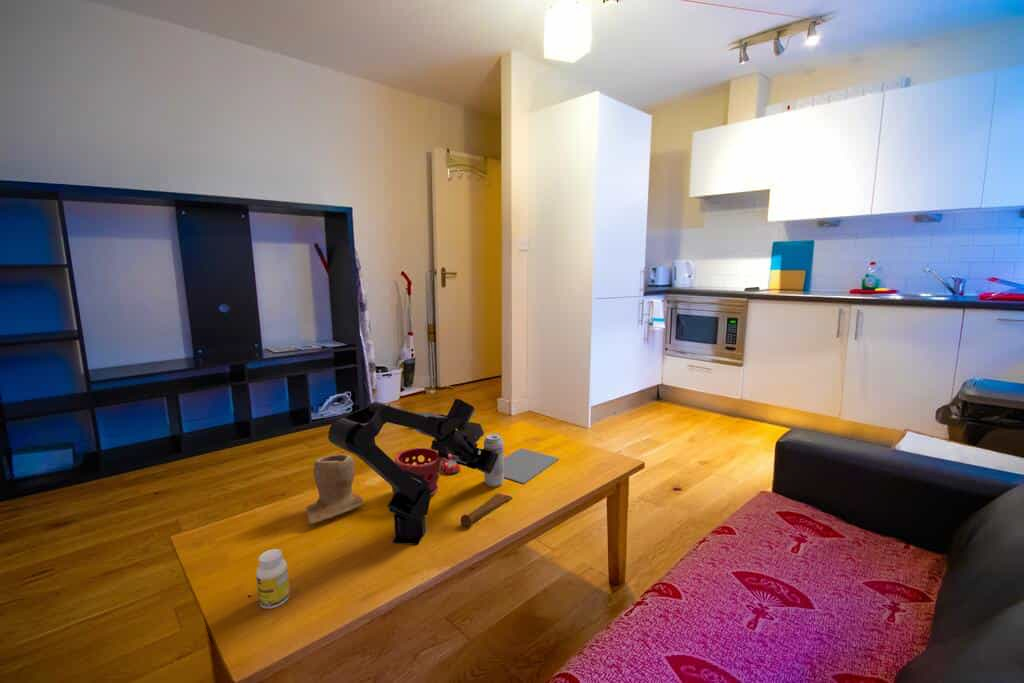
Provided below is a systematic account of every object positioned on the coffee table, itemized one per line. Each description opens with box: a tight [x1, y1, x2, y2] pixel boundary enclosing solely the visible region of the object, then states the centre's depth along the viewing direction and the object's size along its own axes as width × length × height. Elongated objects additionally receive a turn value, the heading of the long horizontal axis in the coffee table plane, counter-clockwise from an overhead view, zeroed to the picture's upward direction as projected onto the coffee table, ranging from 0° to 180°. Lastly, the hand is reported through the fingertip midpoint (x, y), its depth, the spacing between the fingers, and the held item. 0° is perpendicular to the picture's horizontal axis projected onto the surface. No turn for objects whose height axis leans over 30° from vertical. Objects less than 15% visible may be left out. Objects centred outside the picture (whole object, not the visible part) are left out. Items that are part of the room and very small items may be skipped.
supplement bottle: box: [255, 548, 291, 609], centre depth 87 cm, size 5×5×10 cm
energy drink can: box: [483, 433, 505, 488], centre depth 135 cm, size 6×6×15 cm
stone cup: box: [305, 453, 364, 525], centre depth 120 cm, size 15×12×15 cm
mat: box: [504, 447, 560, 485], centre depth 149 cm, size 22×16×1 cm
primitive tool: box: [460, 493, 513, 529], centre depth 120 cm, size 19×6×4 cm, turn 150°
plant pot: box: [394, 447, 442, 498], centre depth 129 cm, size 13×13×12 cm
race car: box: [441, 454, 461, 475], centre depth 148 cm, size 13×5×4 cm, turn 23°
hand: (481, 466), depth 130 cm, fingers closed
